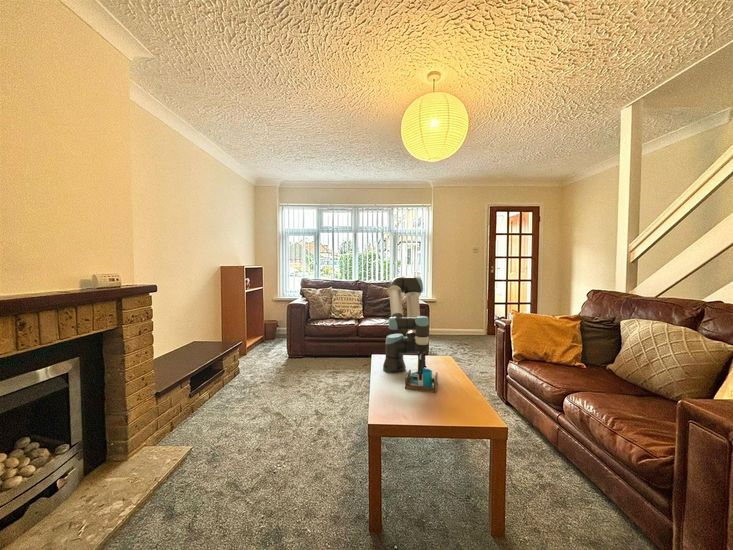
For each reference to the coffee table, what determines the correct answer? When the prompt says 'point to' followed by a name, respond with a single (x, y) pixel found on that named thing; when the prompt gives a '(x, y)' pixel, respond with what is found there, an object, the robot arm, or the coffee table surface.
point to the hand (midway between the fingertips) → (421, 382)
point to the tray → (413, 386)
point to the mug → (425, 377)
